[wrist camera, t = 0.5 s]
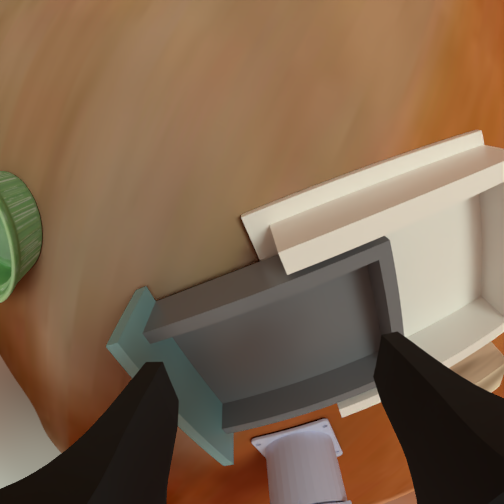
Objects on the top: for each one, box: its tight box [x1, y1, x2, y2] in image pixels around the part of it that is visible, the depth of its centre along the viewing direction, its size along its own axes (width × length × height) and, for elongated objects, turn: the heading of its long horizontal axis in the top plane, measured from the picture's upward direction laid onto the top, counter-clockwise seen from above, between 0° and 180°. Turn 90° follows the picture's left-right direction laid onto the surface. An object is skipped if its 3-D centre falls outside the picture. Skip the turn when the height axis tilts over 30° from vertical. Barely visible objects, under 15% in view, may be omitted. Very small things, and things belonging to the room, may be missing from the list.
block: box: [449, 341, 504, 392], centre depth 22 cm, size 4×6×5 cm
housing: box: [241, 130, 504, 417], centre depth 17 cm, size 18×16×5 cm
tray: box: [106, 236, 404, 466], centre depth 17 cm, size 14×13×6 cm
